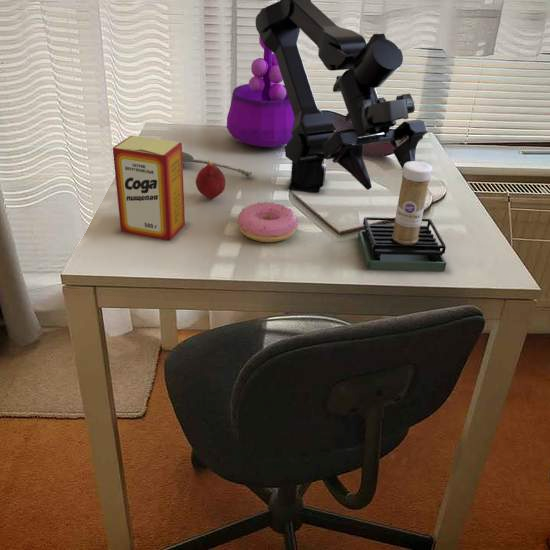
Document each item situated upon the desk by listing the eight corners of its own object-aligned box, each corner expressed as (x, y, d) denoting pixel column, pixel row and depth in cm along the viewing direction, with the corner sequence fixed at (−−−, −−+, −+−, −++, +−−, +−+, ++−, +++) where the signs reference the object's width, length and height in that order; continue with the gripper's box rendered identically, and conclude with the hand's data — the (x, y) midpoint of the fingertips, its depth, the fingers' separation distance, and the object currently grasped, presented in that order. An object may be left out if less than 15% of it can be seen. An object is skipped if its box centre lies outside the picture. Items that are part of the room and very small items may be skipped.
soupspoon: (169, 159, 141) (154, 170, 136) (167, 145, 139) (152, 155, 134) (256, 173, 134) (244, 185, 129) (256, 158, 132) (244, 170, 127)
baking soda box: (121, 231, 108) (112, 145, 100) (137, 216, 114) (130, 133, 105) (170, 240, 106) (165, 153, 98) (184, 224, 112) (181, 140, 103)
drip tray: (367, 269, 101) (368, 261, 100) (357, 238, 110) (358, 230, 110) (444, 271, 102) (446, 263, 101) (428, 239, 111) (429, 231, 110)
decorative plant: (221, 131, 157) (221, 5, 141) (290, 128, 161) (298, 6, 145) (234, 157, 141) (236, 19, 125) (311, 154, 145) (321, 20, 130)
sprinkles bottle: (392, 244, 102) (405, 169, 95) (390, 232, 106) (402, 159, 99) (420, 247, 102) (434, 171, 95) (416, 234, 106) (430, 161, 99)
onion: (230, 197, 123) (230, 159, 119) (216, 207, 118) (216, 169, 114) (205, 191, 125) (205, 153, 121) (190, 201, 120) (189, 163, 116)
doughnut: (308, 237, 110) (310, 216, 107) (256, 251, 104) (257, 230, 102) (276, 213, 117) (277, 193, 115) (226, 225, 112) (226, 205, 110)
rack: (370, 266, 101) (373, 244, 99) (361, 237, 110) (363, 217, 108) (441, 267, 102) (446, 246, 100) (426, 238, 110) (430, 218, 108)
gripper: (338, 81, 95) (371, 173, 93) (431, 72, 103) (462, 157, 101) (308, 116, 105) (337, 200, 103) (395, 105, 113) (423, 183, 111)
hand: (391, 184), depth 104 cm, fingers open, 9 cm apart
